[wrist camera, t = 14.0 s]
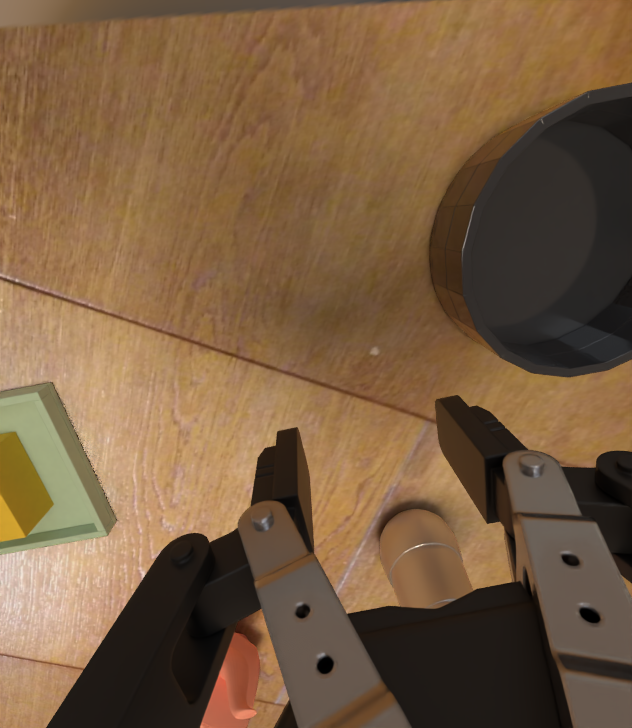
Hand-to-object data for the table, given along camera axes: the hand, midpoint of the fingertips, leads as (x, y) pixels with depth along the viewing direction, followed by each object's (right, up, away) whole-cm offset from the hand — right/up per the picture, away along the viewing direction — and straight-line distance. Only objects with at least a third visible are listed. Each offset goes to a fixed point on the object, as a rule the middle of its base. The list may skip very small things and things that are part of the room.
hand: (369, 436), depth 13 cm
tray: (-26, -6, +17) cm, 32 cm away
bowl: (+13, +11, +13) cm, 21 cm away
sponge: (-26, -6, +16) cm, 32 cm away
